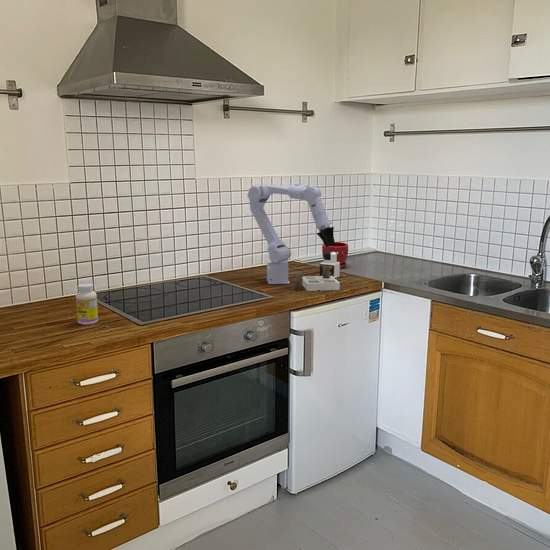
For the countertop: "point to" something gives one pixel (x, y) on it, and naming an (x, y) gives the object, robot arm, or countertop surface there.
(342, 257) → the plant pot
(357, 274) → the countertop surface
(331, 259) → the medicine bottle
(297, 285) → the walnut pin
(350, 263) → the countertop surface
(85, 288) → the supplement bottle
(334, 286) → the pin board
